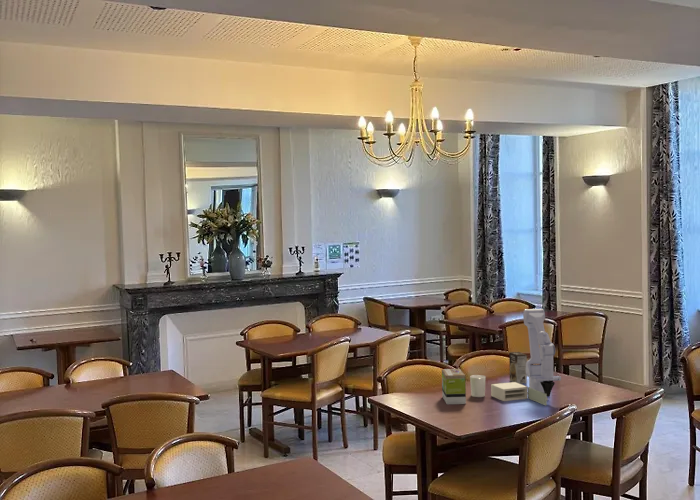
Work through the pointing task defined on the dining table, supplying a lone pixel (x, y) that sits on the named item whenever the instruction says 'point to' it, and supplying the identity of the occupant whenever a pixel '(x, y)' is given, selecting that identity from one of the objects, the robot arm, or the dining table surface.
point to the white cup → (477, 385)
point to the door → (537, 396)
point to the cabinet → (509, 391)
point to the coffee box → (518, 367)
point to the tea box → (453, 386)
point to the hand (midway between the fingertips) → (547, 396)
